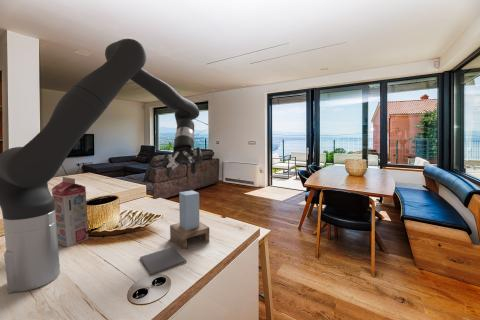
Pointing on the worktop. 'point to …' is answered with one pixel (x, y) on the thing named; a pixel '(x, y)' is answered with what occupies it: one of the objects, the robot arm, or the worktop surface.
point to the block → (189, 209)
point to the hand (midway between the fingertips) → (181, 175)
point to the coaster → (162, 260)
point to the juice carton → (70, 212)
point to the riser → (188, 234)
